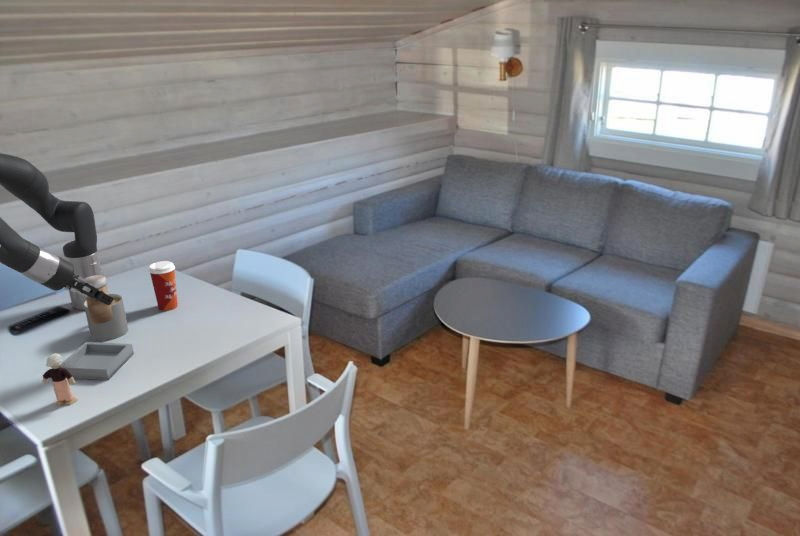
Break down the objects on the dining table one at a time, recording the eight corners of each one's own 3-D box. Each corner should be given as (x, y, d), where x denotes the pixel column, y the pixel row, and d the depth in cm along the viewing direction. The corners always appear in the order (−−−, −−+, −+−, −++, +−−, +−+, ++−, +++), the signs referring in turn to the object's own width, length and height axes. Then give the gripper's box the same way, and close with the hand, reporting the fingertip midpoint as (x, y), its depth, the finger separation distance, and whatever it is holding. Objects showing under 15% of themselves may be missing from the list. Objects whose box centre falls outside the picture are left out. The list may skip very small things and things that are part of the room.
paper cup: (176, 312, 195) (169, 269, 190) (151, 312, 195) (143, 269, 190) (184, 301, 202) (178, 260, 197) (160, 301, 202) (153, 260, 197)
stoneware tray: (59, 377, 161) (57, 367, 160) (88, 351, 173) (85, 342, 172) (108, 379, 160) (106, 369, 158) (133, 353, 171) (132, 344, 170)
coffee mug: (124, 338, 180) (118, 306, 176) (86, 342, 178) (79, 309, 174) (133, 317, 192) (127, 287, 188) (98, 321, 190) (91, 290, 186)
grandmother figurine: (84, 395, 153) (73, 349, 148) (79, 404, 150) (67, 357, 145) (50, 398, 152) (38, 351, 147) (44, 407, 149) (31, 360, 144)
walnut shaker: (86, 323, 161) (77, 283, 157) (97, 314, 166) (89, 275, 162) (106, 324, 160) (98, 283, 156) (117, 314, 165) (109, 275, 161)
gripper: (24, 275, 153) (84, 304, 166) (50, 289, 144) (111, 319, 157) (42, 248, 155) (100, 279, 168) (69, 261, 146) (128, 293, 159)
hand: (105, 298), depth 162 cm, fingers closed on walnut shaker, 5 cm apart
